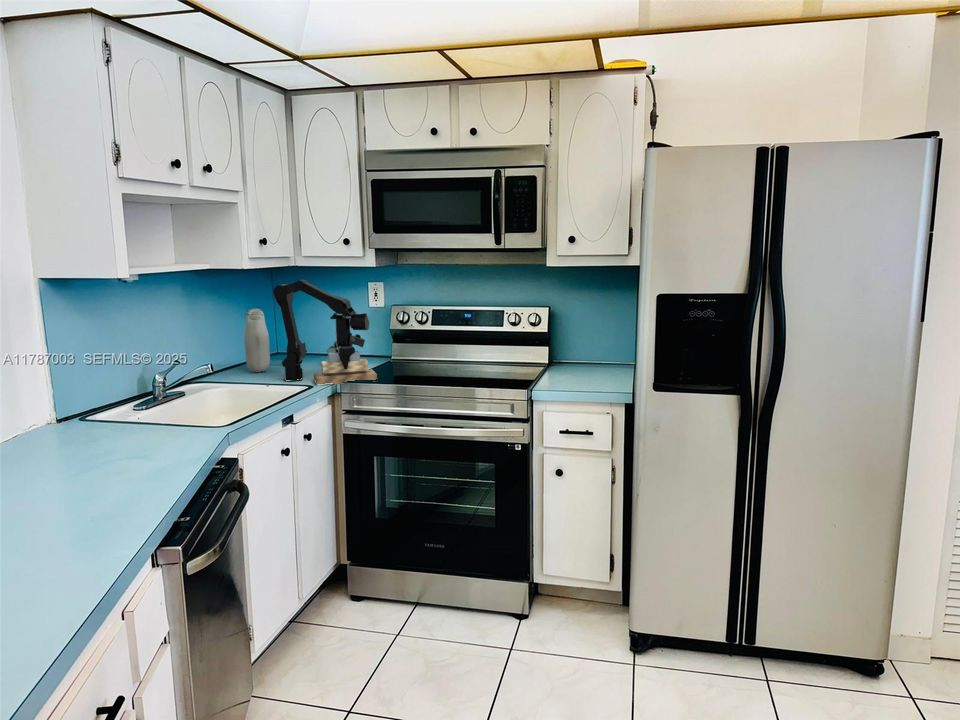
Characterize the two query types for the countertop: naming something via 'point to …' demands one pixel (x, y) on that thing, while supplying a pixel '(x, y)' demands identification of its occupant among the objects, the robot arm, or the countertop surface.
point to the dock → (344, 376)
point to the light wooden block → (338, 367)
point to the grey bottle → (256, 341)
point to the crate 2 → (355, 356)
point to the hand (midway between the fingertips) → (344, 367)
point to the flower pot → (331, 350)
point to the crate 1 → (334, 357)
